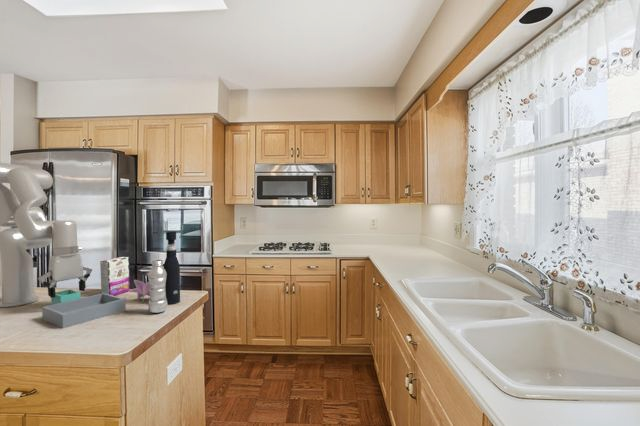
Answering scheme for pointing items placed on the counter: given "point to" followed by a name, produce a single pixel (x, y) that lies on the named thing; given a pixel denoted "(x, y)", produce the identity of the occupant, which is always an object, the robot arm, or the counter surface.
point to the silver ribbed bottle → (157, 287)
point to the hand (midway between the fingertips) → (67, 293)
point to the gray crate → (83, 309)
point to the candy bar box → (115, 276)
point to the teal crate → (65, 296)
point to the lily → (141, 289)
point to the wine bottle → (172, 271)
